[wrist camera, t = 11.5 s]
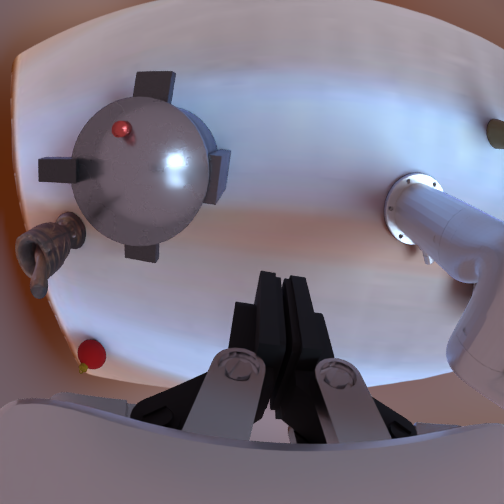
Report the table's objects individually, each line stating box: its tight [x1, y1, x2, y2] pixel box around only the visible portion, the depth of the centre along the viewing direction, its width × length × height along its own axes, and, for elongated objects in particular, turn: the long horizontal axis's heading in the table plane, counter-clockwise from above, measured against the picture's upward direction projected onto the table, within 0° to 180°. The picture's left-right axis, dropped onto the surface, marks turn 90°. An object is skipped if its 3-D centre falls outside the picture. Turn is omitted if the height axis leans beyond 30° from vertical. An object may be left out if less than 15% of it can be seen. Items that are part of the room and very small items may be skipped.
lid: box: [38, 97, 210, 246], centre depth 32 cm, size 24×19×3 cm
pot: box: [125, 71, 231, 263], centre depth 38 cm, size 20×27×10 cm
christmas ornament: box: [78, 339, 106, 374], centre depth 55 cm, size 7×7×10 cm
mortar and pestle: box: [15, 212, 86, 299], centre depth 39 cm, size 12×9×20 cm
